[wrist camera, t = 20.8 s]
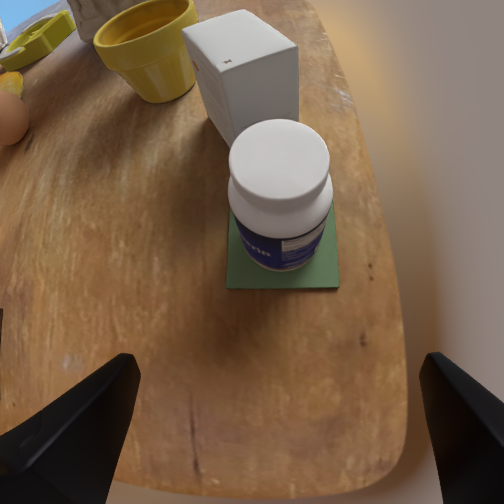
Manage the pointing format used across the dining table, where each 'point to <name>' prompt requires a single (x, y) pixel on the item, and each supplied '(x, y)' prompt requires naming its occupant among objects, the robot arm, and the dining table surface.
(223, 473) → the dining table surface
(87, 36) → the ceramic vessel
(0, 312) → the compartment
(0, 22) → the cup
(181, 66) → the flower pot
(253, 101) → the small box
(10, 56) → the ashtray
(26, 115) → the egg
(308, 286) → the mat
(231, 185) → the pill bottle
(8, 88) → the seashell
